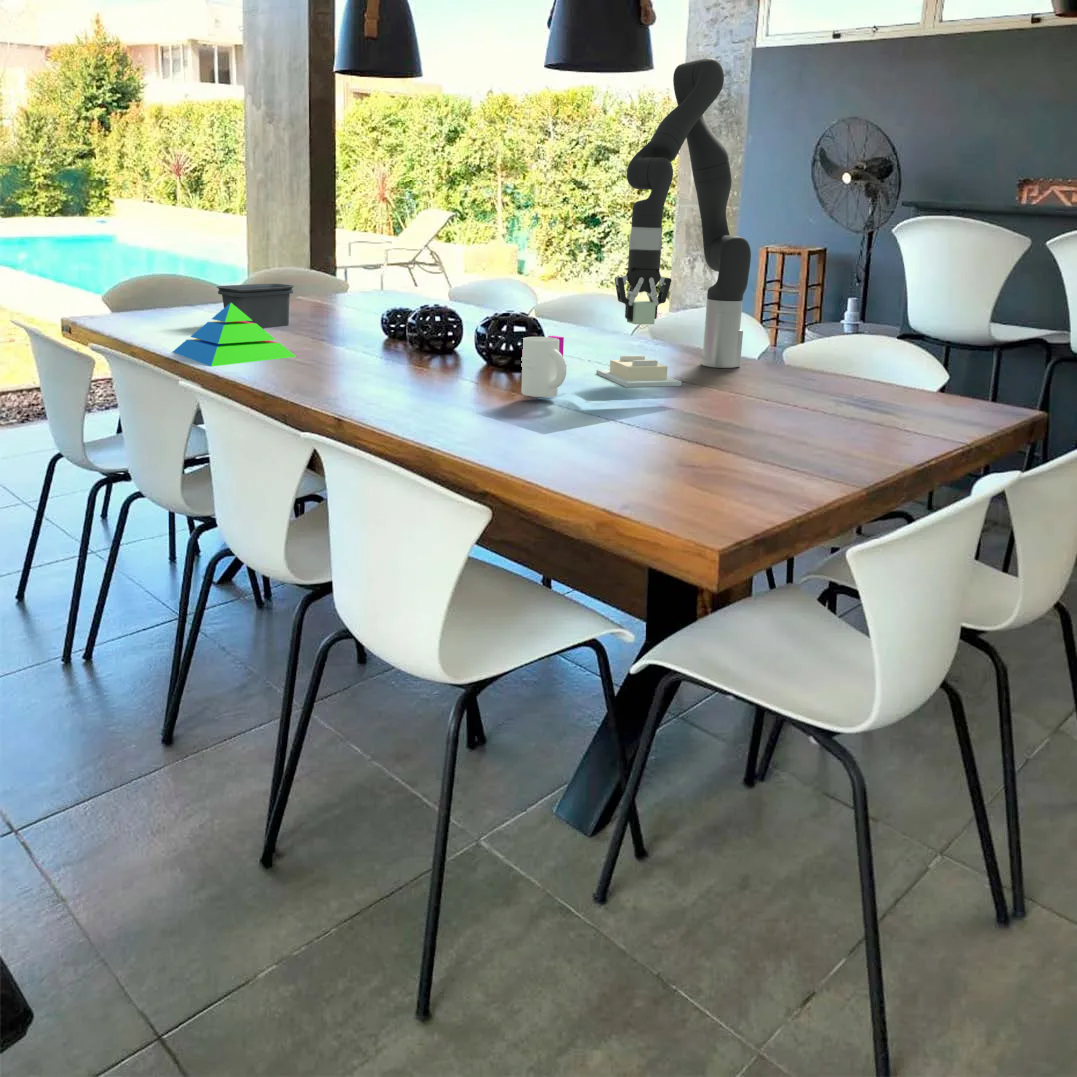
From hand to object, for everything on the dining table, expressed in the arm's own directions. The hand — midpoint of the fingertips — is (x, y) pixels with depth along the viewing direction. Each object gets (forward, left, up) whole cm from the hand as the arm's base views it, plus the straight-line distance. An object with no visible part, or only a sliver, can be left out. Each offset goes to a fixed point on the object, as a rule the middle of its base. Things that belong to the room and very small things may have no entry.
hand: (640, 321), depth 248 cm
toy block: (+18, -22, -14) cm, 32 cm away
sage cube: (0, 0, 0) cm, 0 cm away
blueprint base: (0, 0, -14) cm, 14 cm away
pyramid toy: (+93, -50, -15) cm, 107 cm away
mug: (+29, +18, -14) cm, 37 cm away
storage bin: (+85, -98, -14) cm, 131 cm away
